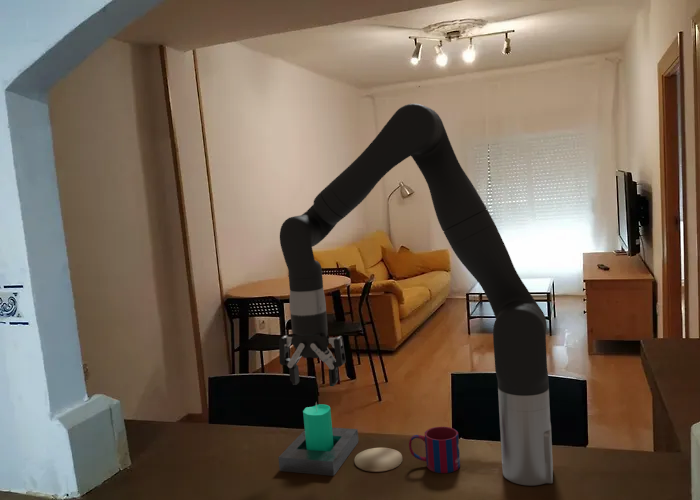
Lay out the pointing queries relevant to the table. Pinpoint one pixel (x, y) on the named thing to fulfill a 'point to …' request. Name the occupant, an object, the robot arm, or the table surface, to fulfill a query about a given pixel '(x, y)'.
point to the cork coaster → (378, 459)
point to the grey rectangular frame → (319, 454)
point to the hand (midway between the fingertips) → (314, 384)
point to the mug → (440, 449)
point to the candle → (318, 428)
